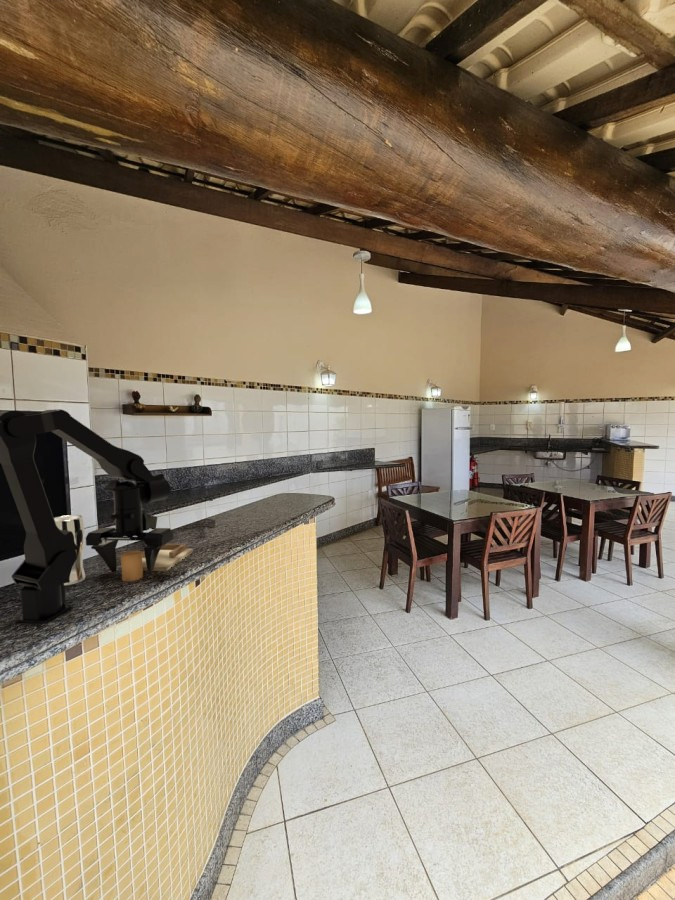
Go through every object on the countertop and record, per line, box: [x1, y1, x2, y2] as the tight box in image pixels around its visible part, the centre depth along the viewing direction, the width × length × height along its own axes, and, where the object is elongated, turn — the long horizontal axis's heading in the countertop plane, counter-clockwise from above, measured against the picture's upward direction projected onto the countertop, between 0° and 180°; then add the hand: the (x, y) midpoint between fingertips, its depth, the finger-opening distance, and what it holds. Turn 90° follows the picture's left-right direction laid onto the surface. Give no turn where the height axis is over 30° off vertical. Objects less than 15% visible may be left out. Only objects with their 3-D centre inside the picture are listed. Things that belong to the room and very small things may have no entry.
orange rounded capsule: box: [120, 549, 144, 582], centre depth 94 cm, size 4×4×6 cm
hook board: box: [120, 543, 194, 572], centre depth 105 cm, size 14×12×5 cm
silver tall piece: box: [54, 514, 86, 587], centre depth 92 cm, size 7×7×15 cm
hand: (132, 572), depth 94 cm, fingers open, 9 cm apart
